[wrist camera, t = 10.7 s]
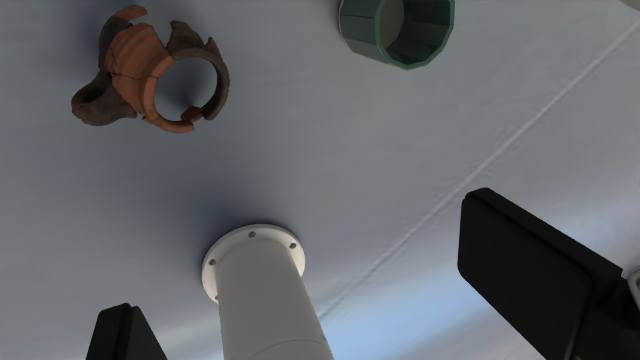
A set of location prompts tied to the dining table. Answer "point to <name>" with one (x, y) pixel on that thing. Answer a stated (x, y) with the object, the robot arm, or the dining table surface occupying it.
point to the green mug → (397, 29)
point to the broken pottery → (144, 73)
